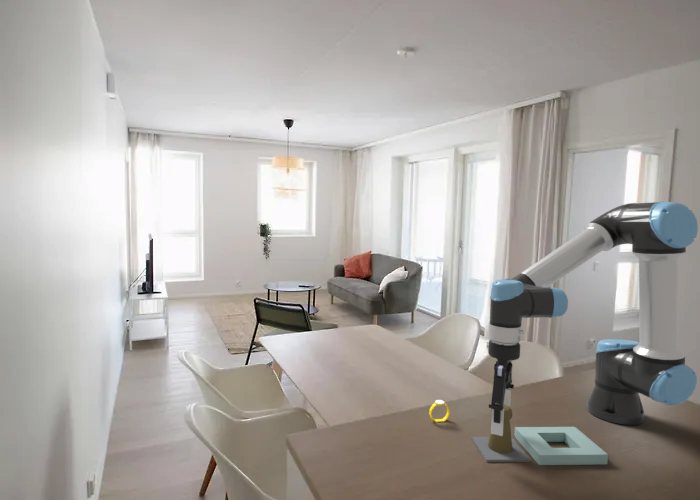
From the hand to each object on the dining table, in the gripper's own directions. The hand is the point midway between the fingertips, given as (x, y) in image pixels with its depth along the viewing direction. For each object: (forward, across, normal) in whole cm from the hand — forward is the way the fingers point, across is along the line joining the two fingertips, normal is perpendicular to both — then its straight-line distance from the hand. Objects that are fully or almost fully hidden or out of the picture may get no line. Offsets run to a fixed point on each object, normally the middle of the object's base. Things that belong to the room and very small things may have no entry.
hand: (500, 422), depth 110 cm
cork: (+7, 0, 0) cm, 7 cm away
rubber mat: (+7, 0, 0) cm, 7 cm away
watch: (+7, +8, +18) cm, 21 cm away
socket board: (+7, +8, -13) cm, 17 cm away
